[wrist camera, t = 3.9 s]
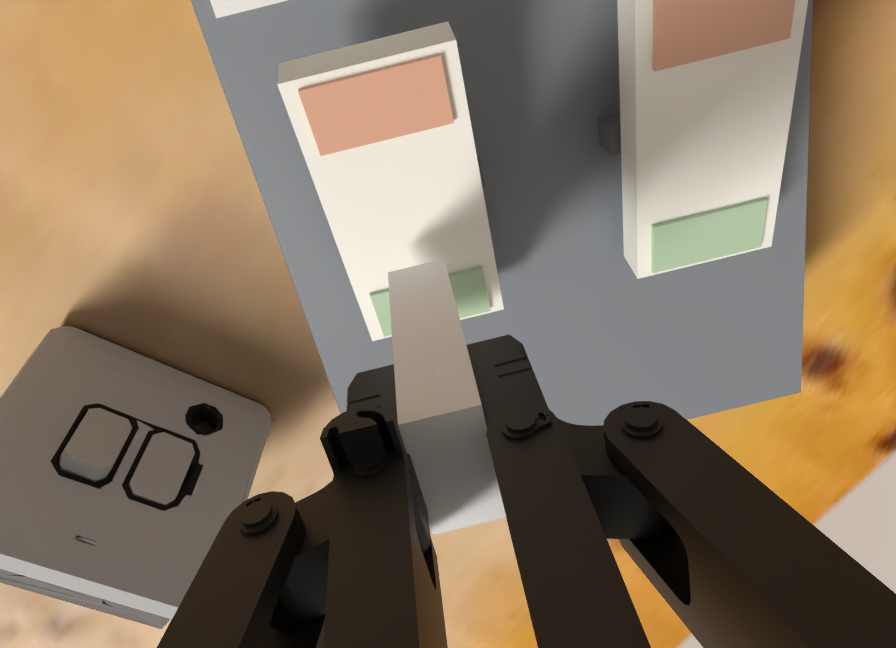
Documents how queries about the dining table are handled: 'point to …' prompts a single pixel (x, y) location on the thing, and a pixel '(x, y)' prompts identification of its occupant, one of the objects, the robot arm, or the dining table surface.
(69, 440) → the electrical switch
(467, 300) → the rocker
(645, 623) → the dining table surface
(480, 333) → the console
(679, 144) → the rocker
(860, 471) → the dining table surface
